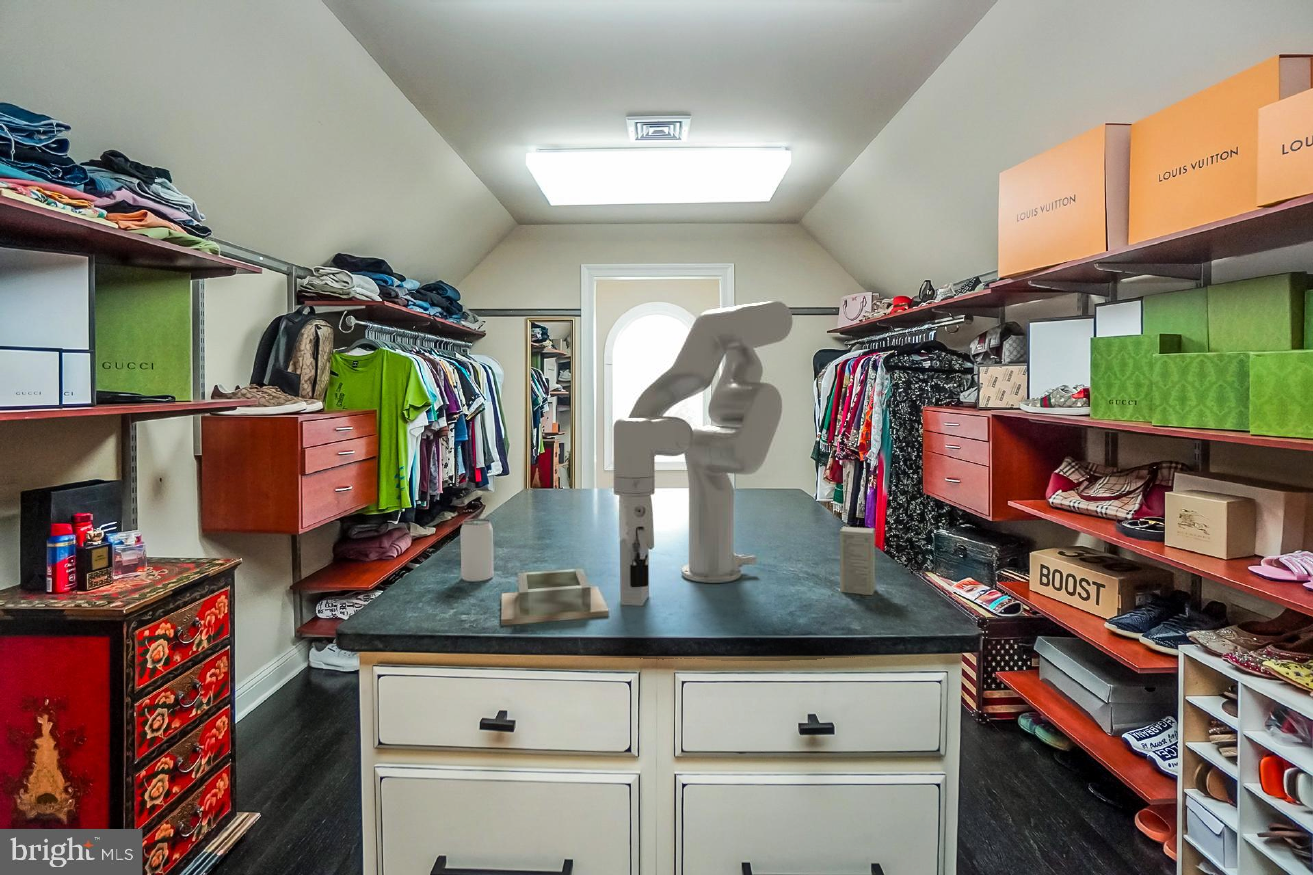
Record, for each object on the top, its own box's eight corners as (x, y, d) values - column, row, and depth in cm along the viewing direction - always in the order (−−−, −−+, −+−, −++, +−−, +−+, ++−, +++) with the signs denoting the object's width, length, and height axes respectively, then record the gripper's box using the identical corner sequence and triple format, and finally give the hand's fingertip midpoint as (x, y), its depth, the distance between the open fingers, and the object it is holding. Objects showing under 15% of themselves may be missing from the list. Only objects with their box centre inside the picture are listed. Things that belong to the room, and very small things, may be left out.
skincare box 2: (875, 589, 121) (876, 528, 120) (872, 596, 117) (874, 532, 116) (841, 585, 123) (842, 525, 123) (838, 592, 119) (839, 529, 119)
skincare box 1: (627, 594, 118) (627, 532, 117) (649, 596, 117) (649, 533, 117) (619, 605, 112) (618, 540, 112) (642, 606, 111) (642, 541, 111)
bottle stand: (597, 591, 120) (597, 566, 120) (608, 615, 107) (608, 587, 106) (501, 598, 116) (501, 572, 116) (501, 625, 102) (500, 595, 102)
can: (484, 583, 126) (483, 525, 125) (455, 581, 127) (454, 523, 126) (499, 574, 132) (497, 518, 131) (471, 572, 133) (469, 517, 132)
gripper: (665, 491, 106) (665, 592, 107) (643, 478, 123) (644, 566, 124) (622, 493, 104) (623, 595, 105) (606, 480, 121) (606, 568, 122)
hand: (634, 579), depth 115 cm, fingers open, 7 cm apart
